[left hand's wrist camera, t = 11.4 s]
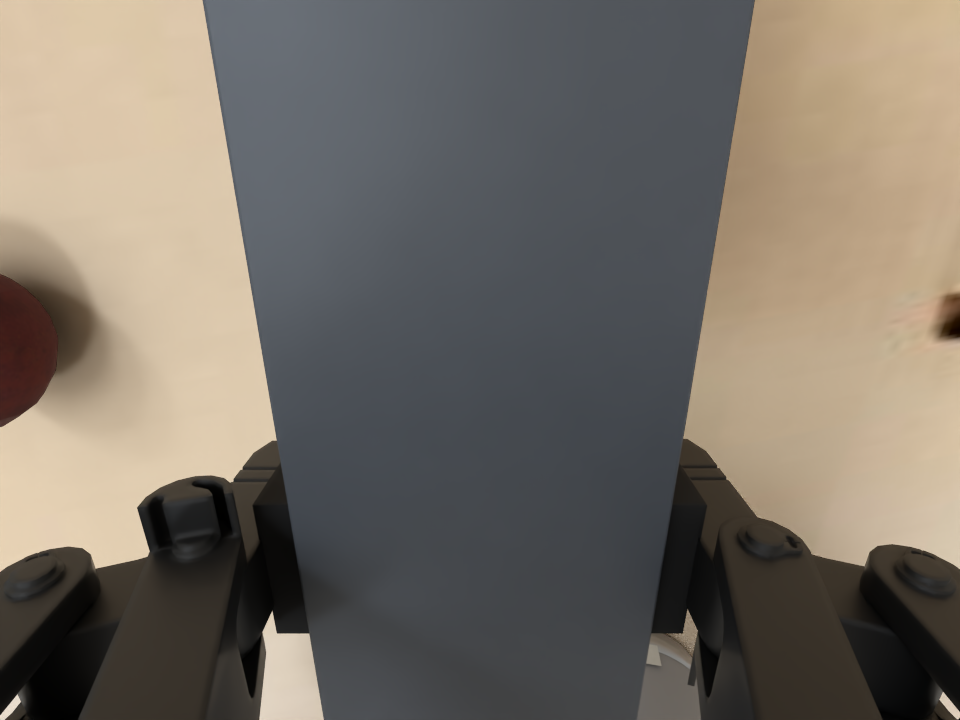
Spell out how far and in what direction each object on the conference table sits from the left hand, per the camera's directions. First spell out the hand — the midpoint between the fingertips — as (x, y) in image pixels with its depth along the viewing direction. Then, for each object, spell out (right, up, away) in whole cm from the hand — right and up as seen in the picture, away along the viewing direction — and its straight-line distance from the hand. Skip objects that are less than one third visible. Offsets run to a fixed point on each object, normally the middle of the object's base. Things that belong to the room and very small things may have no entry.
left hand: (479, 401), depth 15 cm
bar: (0, +22, -8) cm, 23 cm away
